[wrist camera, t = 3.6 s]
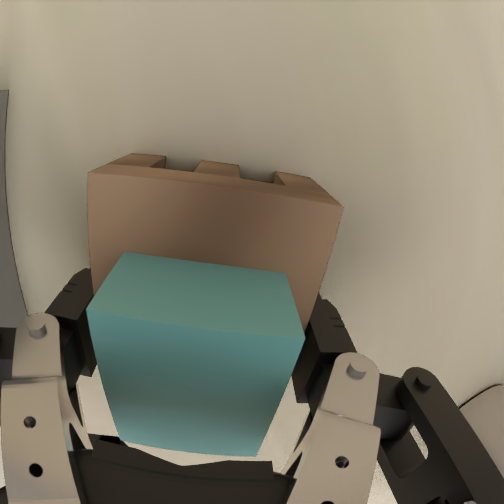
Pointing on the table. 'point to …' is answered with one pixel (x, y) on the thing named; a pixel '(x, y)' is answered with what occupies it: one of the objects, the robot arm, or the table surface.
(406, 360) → the table surface
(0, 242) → the dock
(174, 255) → the pallet
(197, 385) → the teal rectangular block
